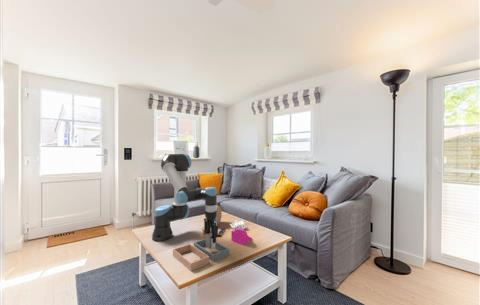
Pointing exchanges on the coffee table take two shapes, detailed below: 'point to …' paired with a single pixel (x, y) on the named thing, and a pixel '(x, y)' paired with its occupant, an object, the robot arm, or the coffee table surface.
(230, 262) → the coffee table surface
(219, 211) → the beige tall rounded piece
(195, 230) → the coffee table surface
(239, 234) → the bracket
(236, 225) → the lotus flower
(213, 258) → the trough
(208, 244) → the stone block
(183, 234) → the coffee table surface
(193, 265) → the trough
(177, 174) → the robot arm
